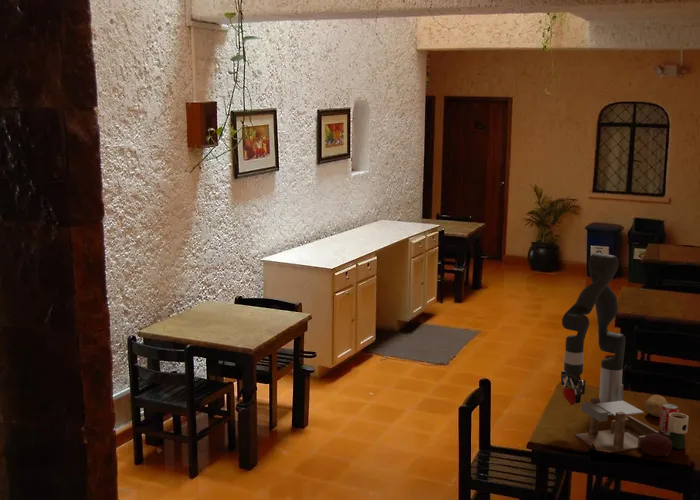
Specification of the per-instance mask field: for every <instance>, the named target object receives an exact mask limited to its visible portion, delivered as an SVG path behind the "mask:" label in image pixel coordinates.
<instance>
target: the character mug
mask: <svg viewBox="0 0 700 500" xmlns="http://www.w3.org/2000/svg"><path fill="white" fill-rule="evenodd" d="M689 419H690V418H689V415H687V414H685V413H681V412H679V413H675V412H674V413H670V414H669V422H668V430H669V431H671V433H670V436H668V438H669V440H670V441H671V442H672V445H673V447H672V448H674V449H678V450H683V449H685V447H686V437H685V436H686V435H685V434H687V433H688V430H689Z"/></svg>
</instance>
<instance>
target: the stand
mask: <svg viewBox="0 0 700 500" xmlns="http://www.w3.org/2000/svg"><path fill="white" fill-rule="evenodd" d="M590 402H591V403H593V404H598V403H600V399H599V397H592V398H591V397H590ZM614 418H615V419H613V420H611V421H610V423H611V424H610V429H606V430H599V424H600V422H599V421H598V420H596V419H594V418H593V417H591V416H589V425H588V426H589V430H588V432H582V433H576V434H575V435H574V436H575V437H576V438H577V439H579V440H581V441H582V442H584V443H586V444H587V445H588V446H590V447H591V445H592V444H594V446H595V449H594V450H596V451H597V452H599V451H604V452H608V453H617V452H624V451H631V450H638V449H642V448H641V445H640V443H641V440H642V439H643V437H644V436H646V435H648V434H653V433H656V434H660V431H658V430H656V429H655V428H652V427H650V426H649V425H647V424H646V423H643V422H642V421H640V420H639V419H636V418H635V417H633V416H631V415H627V418H626V416H625V413H624V412H616V415H615V416H614ZM608 453H607V454H608Z"/></svg>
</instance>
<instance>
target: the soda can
mask: <svg viewBox="0 0 700 500" xmlns="http://www.w3.org/2000/svg"><path fill="white" fill-rule="evenodd" d="M674 412H675V413H680V410H679V407H678V405H676V404H675V403H669V402H668V403H665V404H663V405H662V407H661V410H660V417H659V422H658V424H659V425H658V430H659V431H658V432H659V433H660V434H661V435H664V436H666V437H669V436H670V433H671V431H669V430H668V422H669V414H670V413H674Z"/></svg>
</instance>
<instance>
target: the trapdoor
mask: <svg viewBox="0 0 700 500" xmlns="http://www.w3.org/2000/svg"><path fill="white" fill-rule="evenodd" d="M581 411H582V412H583V413H585V414H586V415H587V416H589V417H590V416H591V417H593V418H594V419H596V420H598V421H599V423H600V422H608V417H610V416H613V417H615V415H616V412H624V413H625V417H627V416H631V415H632V416H634V415H639V414H645V412H644V411H643V410H641V409H640V408H637V407H636V406H634V405H632V404H630V403H628V402H627V401H624V400H622V401H615V402H606V403H598V404H593V403H591V401H583V402H581Z"/></svg>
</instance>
